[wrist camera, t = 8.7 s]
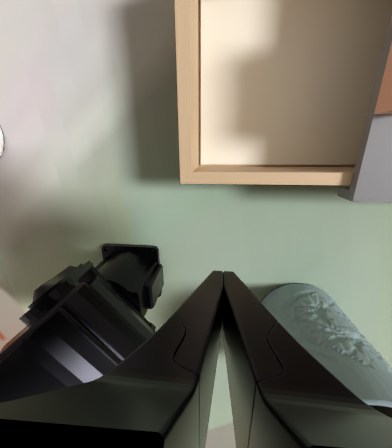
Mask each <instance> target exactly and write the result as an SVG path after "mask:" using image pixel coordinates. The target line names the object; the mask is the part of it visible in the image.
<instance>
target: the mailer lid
mask: <svg viewBox="0 0 392 448" xmlns="http://www.w3.org/2000/svg"><path fill="white" fill-rule="evenodd" d="M338 196H340V197H343V198H345V199H348V200H350V201H361V202H392V12H391V16H390V20H389V24H388V29H387V33H386V37H385V41H384V46H383V50H382V54H381V58H380V63H379V67H378V71H377V75H376V80H375V84H374V88H373V92H372V96H371V101H370V105H369V109H368V113H367V118H366V122H365V126H364V130H363V135H362V139H361V143H360V147H359V152H358V156H357V160H356V164H355V169H354V173H353V177H352V181H351V186H350V187H339V190H338Z"/></svg>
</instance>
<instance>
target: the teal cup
mask: <svg viewBox="0 0 392 448" xmlns="http://www.w3.org/2000/svg"><path fill="white" fill-rule="evenodd" d="M262 304H263V305H264V306H265V307H266V308H267V309H268V311H269V312H270V313H271V314H272V315H273V316H274V317H275V318H276V319H277V320H278V322H279V323H280V324H281V325H282V326H283V327H284V328H285V329H286V330H287V331H288V332H289V333H290V334H291V335H292V336H293V337H294V339H295V340H296V341H297V342H298V343H299V344H301V345H302V346H303V347H304V348H305V349H306V350H307V351H308V352H309V353H310V354H311V355H312V356H313V357H314V358H315V359H317V360H318V361H319V362H320V363H321V364H322V365H323V366H324V367H325V368H326V369H328V370H329V371H330V372H331V373H332V374H333V375H334V376H335V377H336V378H337V379H339V380H340V381H341V382H342V383H343V384H344V385H345V386H346V387H347V388H349V389H350V390H351V391H352V392H353V393H354V394H355V395H356V396H358V397H359V398H360V399H361V400H363V401H364V402H365V403H367V404H368V405H369V406H371V407H372V408H374V409H375V410H377V411H378V412H380V413H382V414H384V415H386V416H388V417H390V418H392V371H391V368H390V365H389V364H388V363H387V362H386V361H385V359H384V358H383V357H382V356H381V354H380V353H379V352H377V351H376V349H375V348H374V347H373V346H372V344H371V343H369V342H368V341H367V339H366V338H365V337H364V336H363V335H362V334H361V333H360V332H359V330H358V328H357V327H356V326H355V325H354V324H353V323H352V322H351V321H350V320H349V318H348V317H347V316H346V315H345V314H344V313H343V311H342V310H341V309H340V308H339V306H338V305H337V304H336V303H335V301H334V300H333V299H332V298H331V297H330V296H329V295H328V294H327V293H326V292H324V291H323V290H321V289H319V288H317V287H315V286H313V285H309V284H301V283H294V284H287V285H284V286H281V287H278V288H276V289H275V290H273V291H271V292H270V293H269V294H268V295H267V296H266V297H265V298H264V299H263V301H262Z"/></svg>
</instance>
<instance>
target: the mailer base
mask: <svg viewBox="0 0 392 448" xmlns="http://www.w3.org/2000/svg"><path fill="white" fill-rule="evenodd" d="M391 12H392V0H175V30H176V63H177V95H178V127H179V159H180V184H266V185H351V181H352V177H353V173H354V169H355V164H356V160H357V156H358V152H359V147H360V143H361V139H362V135H363V130H364V126H365V122H366V118H367V113H368V109H369V105H370V101H371V96H372V92H373V88H374V84H375V80H376V75H377V71H378V67H379V63H380V58H381V54H382V50H383V46H384V41H385V37H386V33H387V29H388V24H389V20H390V16H391Z"/></svg>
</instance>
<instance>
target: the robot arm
mask: <svg viewBox="0 0 392 448" xmlns="http://www.w3.org/2000/svg"><path fill="white" fill-rule="evenodd" d="M106 248H107V249H108V250H107V249H106ZM152 250H155V251H156V252H153V251H152ZM102 254H103V261H102V262H101V263H100V264H99V265H97V266H96V267H95V268H94V267H93V264H92V263H91V262H90V261H88V262H87V263H85V264H84V265H83V264H82V263H81V264H80V265H79V266H78V267H73V266H69V267H67V268H66V269H65V270H63V271H62V272H61V273H59V274H58V275H57V276H55V277H54V278H52V279H51V280H49V281H47V282H46V283H44V284H43V285H41V286H40V287H39V288H38V289H36V290H35V291H34V297H33V303H32V304H31V305H30V306H28V308H29V309H30V310H29V311H28V312H26V313H25V314H24V315H23V316H22V317H20V318H19V319H20V320H21V321H22V322H24V323H25V324H26V325H27V326H26V327H25V328H24V329H23V330H22V331H20V332H19V333H18V334H17V335H16V336H15V337H14V338H12V339H11V340H10V341H9V342H8V343H7V344H6V345H5V346H4V347H3V348H2V350H1V351H0V448H205V444H206V437H207V430H208V423H209V415H210V408H211V401H212V394H213V387H214V380H215V372H216V365H217V358H218V351H219V344H220V337H221V329H222V330H223V339H224V348H225V356H226V364H227V373H228V381H229V390H230V398H231V407H232V415H233V424H234V432H235V441H236V448H392V418H390V417H388V416H386V415H384V414H382V413H380V412H378V411H377V410H375V409H374V408H372V407H371V406H369V405H368V404H367V403H365V402H364V401H363V400H361V399H360V398H359V397H358V396H356V395H355V394H354V393H353V392H352V391H351V390H350V389H349V388H347V387H346V386H345V385H344V384H343V383H342V382H341V381H340V380H339V379H337V378H336V377H335V376H334V375H333V374H332V373H331V372H330V371H329V370H328V369H326V368H325V367H324V366H323V365H322V364H321V363H320V362H319V361H318V360H317V359H315V358H314V357H313V356H312V355H311V354H310V353H309V352H308V351H307V350H306V349H305V348H304V347H303V346H302V345H301V344H299V343H298V342H297V341H296V340H295V339H294V337H293V336H292V335H291V334H290V333H289V332H288V331H287V330H286V329H285V328H284V327H283V326H282V325H281V324H280V323H279V322H278V320H277V319H276V318H275V317H274V316H273V315H272V314H271V313H270V312H269V311H268V309H267V308H266V307H265V306H264V305H263V304H262V303H261V302H260V301H259V300H258V298H257V297H256V296H255V295H254V294H253V293H252V292H251V291H250V290H249V289H248V288H247V286H246V285H245V284H244V283H243V282H242V281H241V280H240V279H239V278H238V277H237V275H236V274H235V273H234V272H229V271H224V272H222V271H213V272H212V273H211V274H210V275H209V276H208V277H207V278H206V279H205V280H204V281H203V282H202V284H201V285H200V286H199V287H198V288H197V289H196V290H195V291H194V292H193V293H192V294H191V296H190V297H189V298H188V299H187V300H186V301H185V302H184V303H183V304H182V305H181V307H180V308H179V309H178V310H177V311H176V312H175V314H173V315H172V316H171V317H170V318H169V319H168V321H167V322H166V323H165V324H164V325H163V326H162V327H161V328H160V329H159V330H158V331H156V332H155V326H154V325H153V324H152V323H149V322H148V321H147V320H146V319H145V318H144V316H145V314H146V312H147V310H148V309H152V308H153V307H154V305H155V303H156V301H157V298H158V297H160V296H161V293H162V287H163V284H164V281H163V267H162V265H161V264H160V259H159V249H158V248H157V247H156V246H141V245H118V244H105V245H104V246H102Z"/></svg>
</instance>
